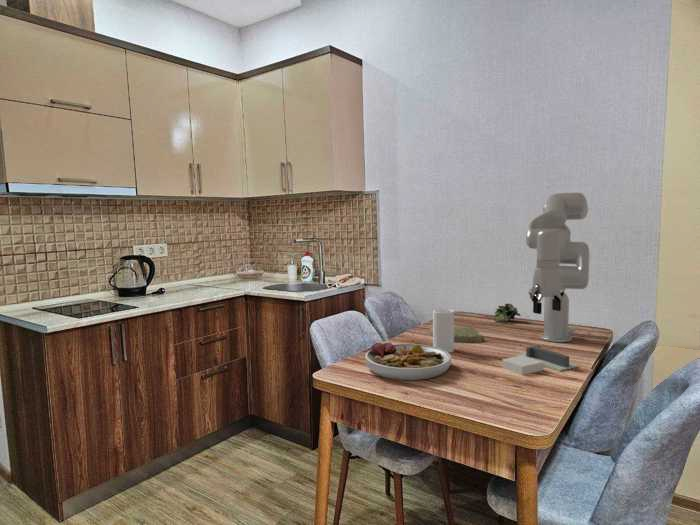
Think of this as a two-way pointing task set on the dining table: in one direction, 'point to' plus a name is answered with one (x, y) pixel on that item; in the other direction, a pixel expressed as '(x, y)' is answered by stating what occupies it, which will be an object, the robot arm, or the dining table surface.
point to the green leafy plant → (506, 312)
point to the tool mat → (551, 364)
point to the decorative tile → (464, 334)
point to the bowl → (407, 361)
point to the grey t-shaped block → (547, 356)
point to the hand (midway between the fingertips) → (546, 311)
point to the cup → (443, 329)
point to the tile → (522, 365)
